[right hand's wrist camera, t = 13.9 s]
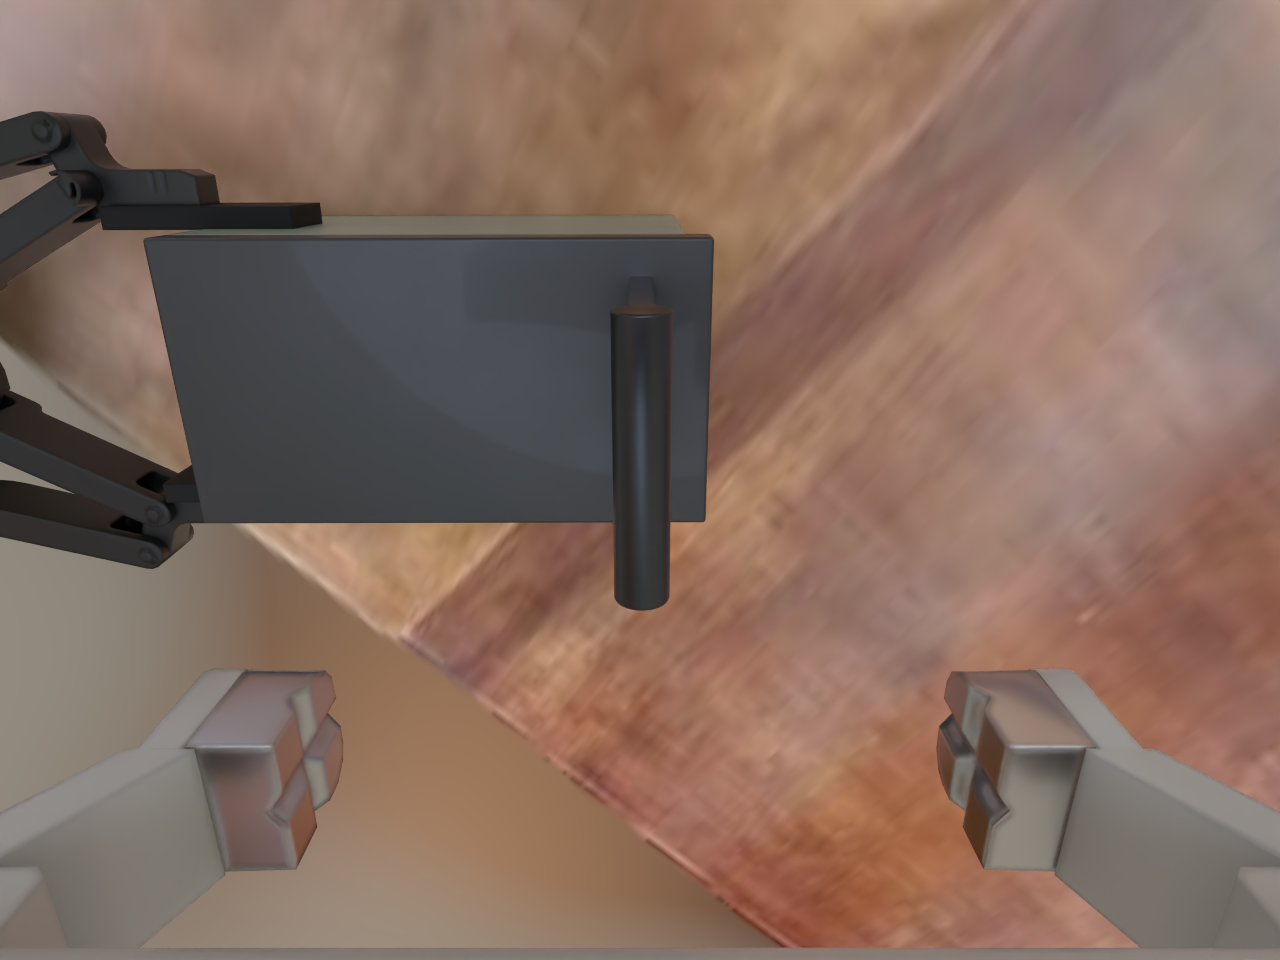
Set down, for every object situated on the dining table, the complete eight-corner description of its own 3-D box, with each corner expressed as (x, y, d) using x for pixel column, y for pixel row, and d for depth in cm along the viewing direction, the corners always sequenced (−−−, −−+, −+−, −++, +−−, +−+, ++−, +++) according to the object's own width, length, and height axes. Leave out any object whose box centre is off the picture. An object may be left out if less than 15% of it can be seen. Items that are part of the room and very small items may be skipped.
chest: (674, 215, 34) (686, 233, 25) (671, 425, 38) (682, 508, 29) (289, 215, 34) (165, 234, 25) (321, 426, 38) (221, 509, 29)
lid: (710, 233, 25) (745, 267, 17) (702, 508, 29) (728, 645, 21) (164, 234, 25) (-61, 269, 17) (221, 509, 29) (56, 646, 21)
